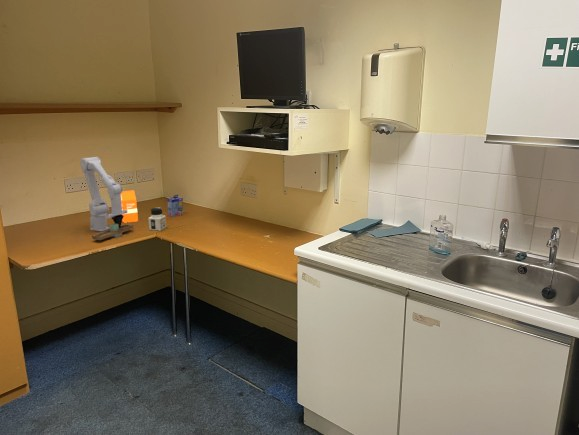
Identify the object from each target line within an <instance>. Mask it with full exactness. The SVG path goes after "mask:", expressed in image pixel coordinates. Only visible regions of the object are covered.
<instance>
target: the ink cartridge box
mask: <svg viewBox="0 0 579 435" xmlns="http://www.w3.org/2000/svg"><path fill="white" fill-rule="evenodd" d="M183 198H184V197H182V196H179V194H175V195H173V197H169V198H167V199H166V201H167V202H166V203H167V217H173V218H175V217H177V216H181V214H182V215H184V199H183Z"/></svg>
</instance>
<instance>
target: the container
mask: <svg viewBox="0 0 579 435" xmlns="http://www.w3.org/2000/svg"><path fill="white" fill-rule="evenodd" d="M150 214H151V215H150V217H148V229H149V230H150V231H162V230H164V229H166V228H167V219H166V215H163V209H162V208H161V207H152V208H151V209H150Z"/></svg>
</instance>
